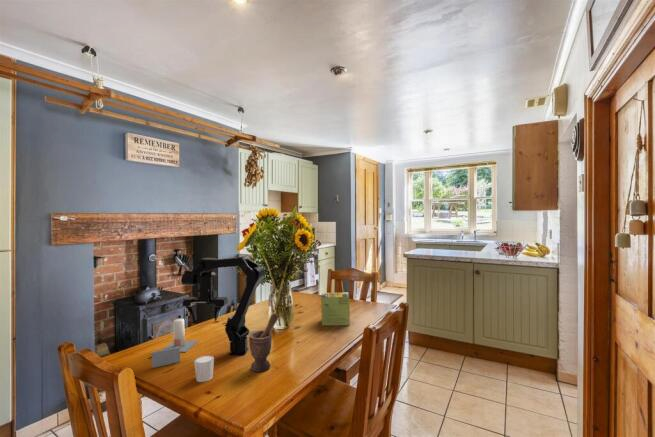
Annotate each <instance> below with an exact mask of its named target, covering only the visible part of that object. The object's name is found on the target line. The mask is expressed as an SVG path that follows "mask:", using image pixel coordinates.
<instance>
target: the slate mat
mask: <svg viewBox="0 0 655 437" xmlns="http://www.w3.org/2000/svg"><path fill="white" fill-rule="evenodd" d="M198 342H199V341H198V340H185V346H184V347H181V348H180V354H181V353H187V352H188V351H189V350H190V349H191V348H193V347H194V346H195V345H196V344H197V343H198ZM169 348H174V340H173V341H171V342H170V343H168V345H166V346H165V347H163V348H162V349H161V350H164V349H169Z"/></svg>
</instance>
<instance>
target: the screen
mask: <svg viewBox="0 0 655 437" xmlns="http://www.w3.org/2000/svg"><path fill="white" fill-rule="evenodd" d="M180 362H181V353H180V346H179V347H174V348H169V349H164V350H162V349H160V350H154V351H151V368H152V369H154V368H158V367H163V366H168V365H173V364H176V363H180Z"/></svg>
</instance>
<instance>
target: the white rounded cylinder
mask: <svg viewBox="0 0 655 437" xmlns="http://www.w3.org/2000/svg"><path fill="white" fill-rule="evenodd" d="M172 323H173V326H172V327H173V341H174V347H179V346H180V348H181V347H184V346H185V341H186V338H185V335H186V334H185V319H184V318H176V319H174V320H173V322H172Z"/></svg>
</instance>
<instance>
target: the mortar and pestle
mask: <svg viewBox="0 0 655 437" xmlns="http://www.w3.org/2000/svg"><path fill="white" fill-rule="evenodd" d="M278 319H279V315H277V314H276V313H273V314H271V316H270V318H269V320H268V323H267V325H266V327H265V329H264V330H258V331H257V330H256V331H254V332H251V333H249V334H248V337H249V338H248V339H249V340H248V341H249V350H250V354H251V356H252V358H253V359H254V361H252V363H251V364H250V371H253V372H257V373H261V372H265V371H267V370H269V369H270V368H271V364H270V360H268V359H267V358H268V356H269V355H270V353H271V350H272V337H273V334H272V332H271V330H272V329H273V327H274V326H275V324H276V323H277V321H278Z"/></svg>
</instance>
